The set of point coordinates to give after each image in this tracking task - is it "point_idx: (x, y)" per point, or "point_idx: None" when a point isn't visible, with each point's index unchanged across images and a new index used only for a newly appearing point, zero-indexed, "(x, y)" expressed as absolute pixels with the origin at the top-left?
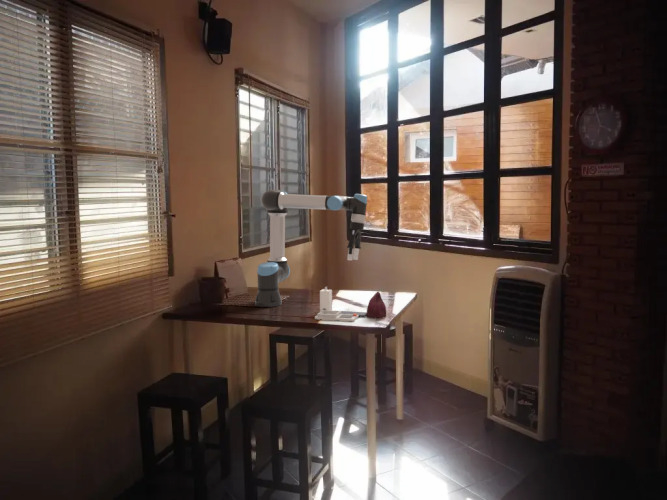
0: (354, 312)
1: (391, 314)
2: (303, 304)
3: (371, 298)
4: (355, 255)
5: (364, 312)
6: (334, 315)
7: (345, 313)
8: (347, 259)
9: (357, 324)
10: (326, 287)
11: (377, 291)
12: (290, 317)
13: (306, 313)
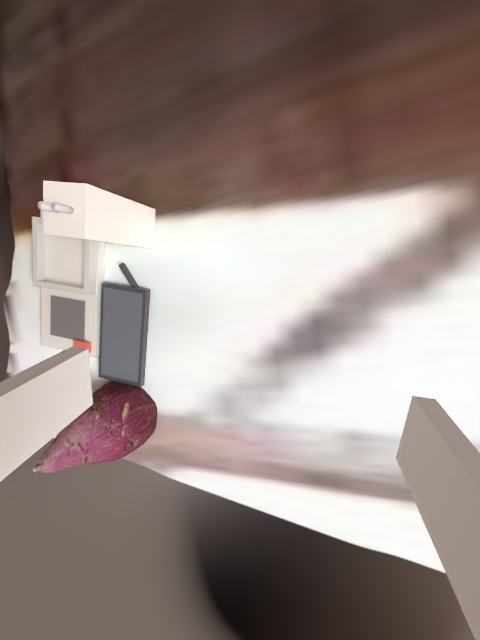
0: (129, 339)
1: (159, 461)
2: (281, 61)
3: (67, 425)
4: (432, 476)
5: (136, 375)
6: (34, 281)
7: (108, 308)
8: (69, 352)
9: (27, 356)
10: (55, 208)
11: (34, 467)
12: (48, 111)
13: (114, 150)
